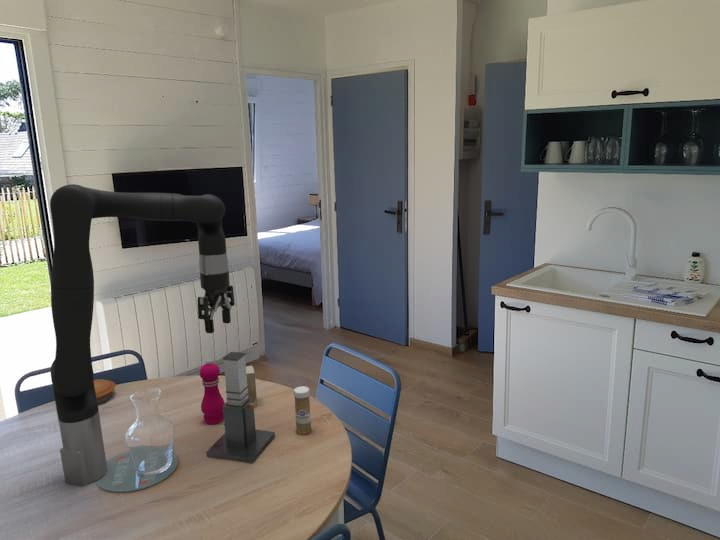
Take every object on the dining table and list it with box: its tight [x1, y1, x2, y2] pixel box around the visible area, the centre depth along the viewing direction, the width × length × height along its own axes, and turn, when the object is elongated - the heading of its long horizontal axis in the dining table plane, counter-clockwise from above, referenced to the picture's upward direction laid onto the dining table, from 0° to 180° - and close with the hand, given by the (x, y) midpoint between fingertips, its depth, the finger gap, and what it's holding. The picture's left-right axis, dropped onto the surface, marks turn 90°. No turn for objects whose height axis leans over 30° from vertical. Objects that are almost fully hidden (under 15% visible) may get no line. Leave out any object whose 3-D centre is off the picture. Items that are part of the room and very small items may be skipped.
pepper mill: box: [199, 358, 226, 425], centre depth 167 cm, size 7×7×20 cm
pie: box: [93, 378, 117, 405], centre depth 185 cm, size 16×16×5 cm
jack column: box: [222, 351, 249, 408], centre depth 150 cm, size 4×4×20 cm
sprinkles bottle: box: [293, 385, 312, 435], centre depth 159 cm, size 5×5×14 cm
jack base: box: [205, 398, 276, 464], centre depth 152 cm, size 14×14×14 cm
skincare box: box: [246, 365, 258, 408], centre depth 177 cm, size 6×4×12 cm
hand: (218, 327), depth 149 cm, fingers open, 8 cm apart
